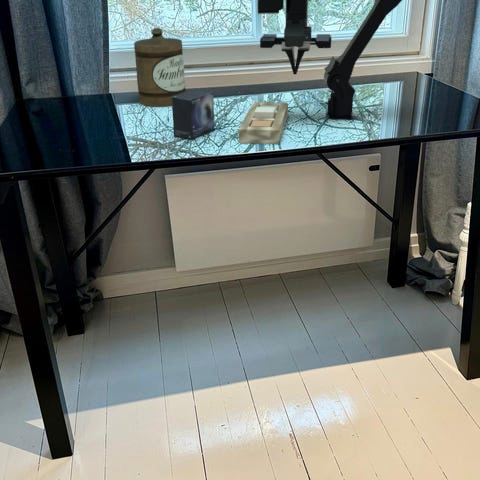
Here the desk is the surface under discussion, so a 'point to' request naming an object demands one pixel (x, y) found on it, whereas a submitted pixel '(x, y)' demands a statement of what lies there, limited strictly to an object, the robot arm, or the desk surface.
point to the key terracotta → (261, 123)
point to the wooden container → (159, 69)
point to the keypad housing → (263, 133)
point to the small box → (193, 113)
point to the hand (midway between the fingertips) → (295, 74)
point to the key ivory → (264, 112)
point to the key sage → (270, 106)
